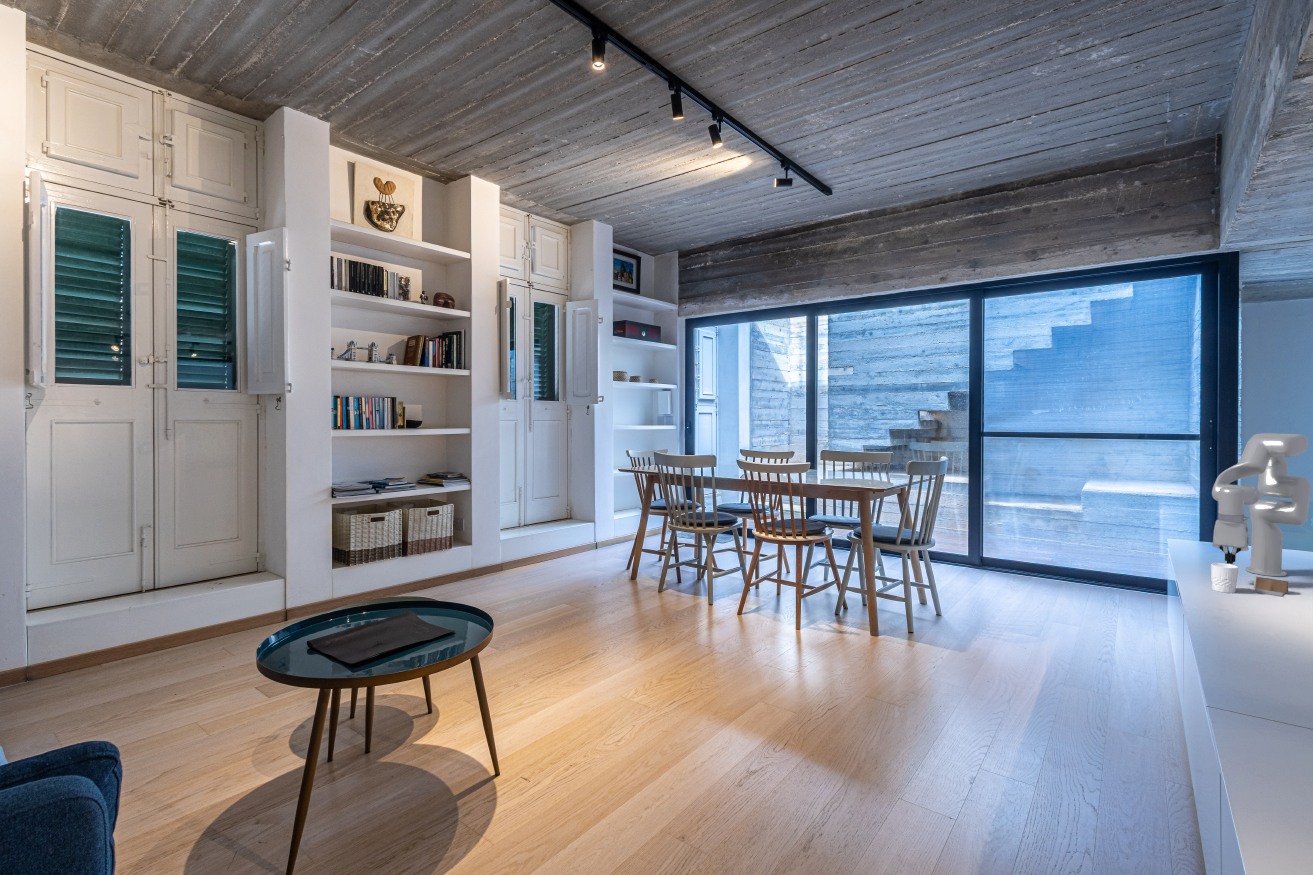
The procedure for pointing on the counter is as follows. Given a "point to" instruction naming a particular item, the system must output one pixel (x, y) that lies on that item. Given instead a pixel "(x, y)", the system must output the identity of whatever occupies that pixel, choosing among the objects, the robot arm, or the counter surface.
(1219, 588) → the white cup
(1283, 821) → the counter surface
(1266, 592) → the mat
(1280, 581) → the block
